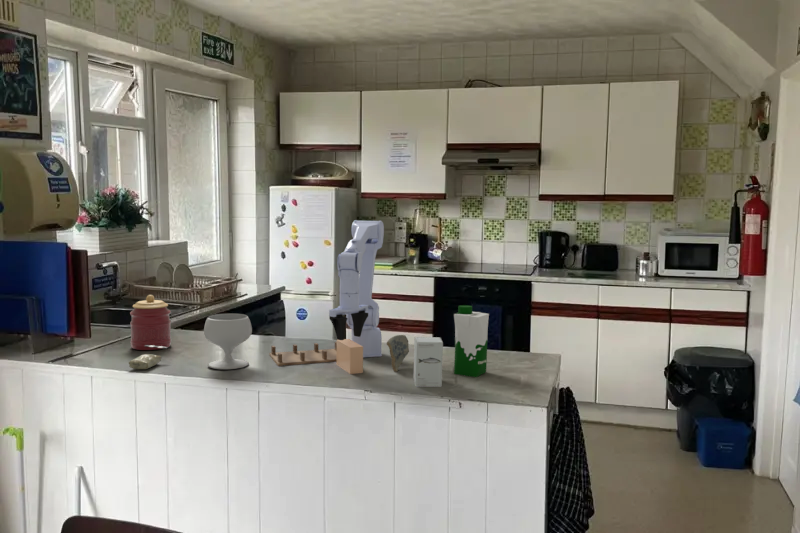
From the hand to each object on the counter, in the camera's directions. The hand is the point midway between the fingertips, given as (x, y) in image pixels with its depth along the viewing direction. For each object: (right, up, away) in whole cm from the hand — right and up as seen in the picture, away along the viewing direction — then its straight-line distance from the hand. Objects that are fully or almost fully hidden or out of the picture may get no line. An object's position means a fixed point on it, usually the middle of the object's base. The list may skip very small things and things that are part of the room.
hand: (348, 338), depth 206 cm
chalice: (-37, -9, +3) cm, 38 cm away
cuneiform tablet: (-60, -5, +8) cm, 61 cm away
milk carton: (+36, -11, -3) cm, 38 cm away
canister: (-69, -6, +28) cm, 74 cm away
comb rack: (-14, -8, +14) cm, 21 cm away
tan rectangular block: (0, -10, +1) cm, 10 cm away
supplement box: (+23, -11, -15) cm, 29 cm away
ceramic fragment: (+15, -10, +1) cm, 18 cm away
